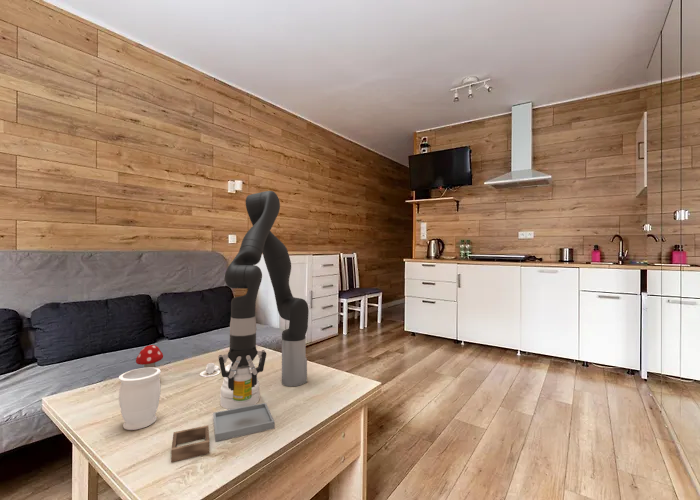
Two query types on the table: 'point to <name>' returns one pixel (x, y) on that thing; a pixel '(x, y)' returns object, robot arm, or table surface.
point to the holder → (190, 449)
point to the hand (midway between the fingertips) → (242, 387)
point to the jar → (139, 397)
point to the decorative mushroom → (149, 356)
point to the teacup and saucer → (210, 370)
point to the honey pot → (227, 394)
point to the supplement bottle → (242, 385)
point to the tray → (242, 421)
